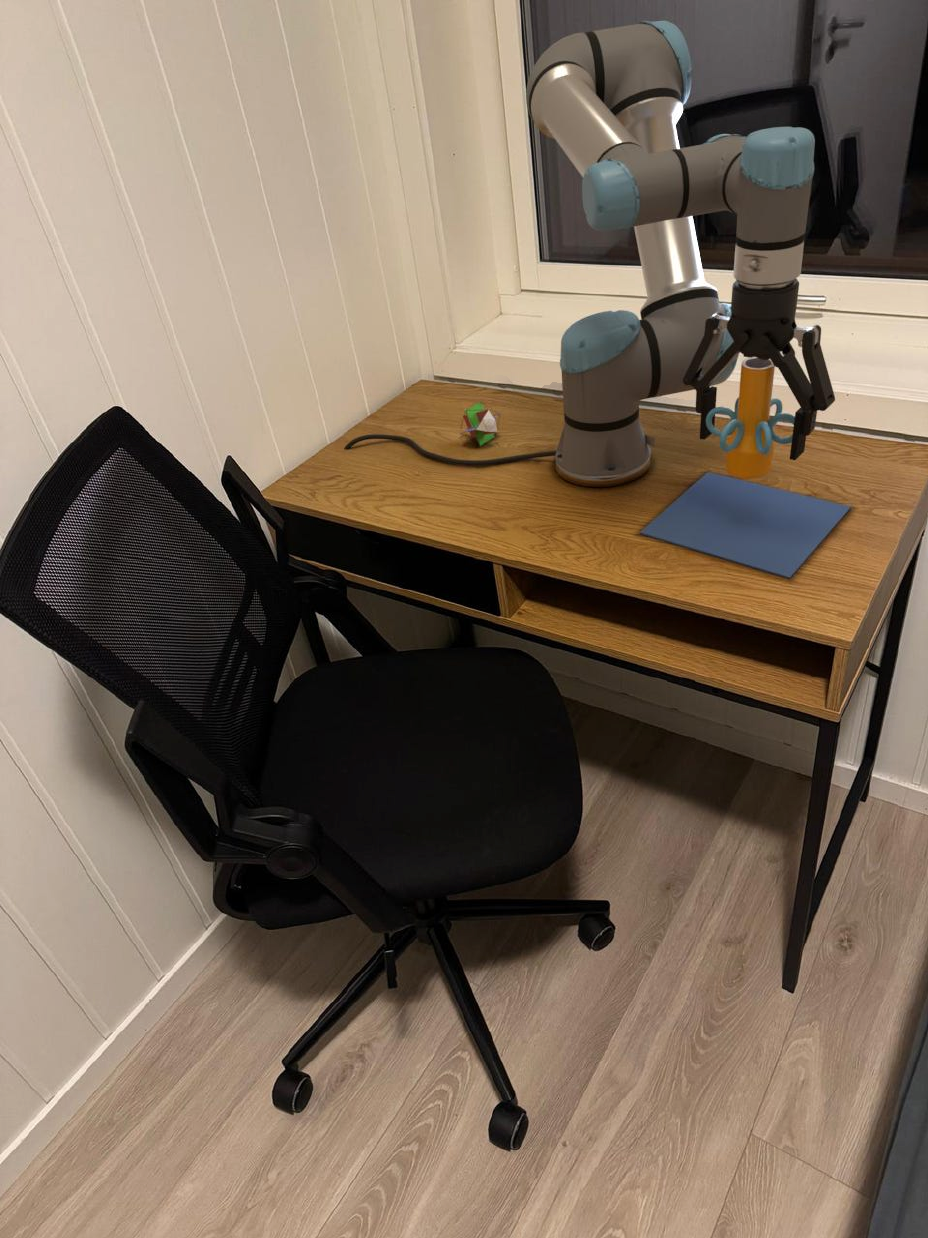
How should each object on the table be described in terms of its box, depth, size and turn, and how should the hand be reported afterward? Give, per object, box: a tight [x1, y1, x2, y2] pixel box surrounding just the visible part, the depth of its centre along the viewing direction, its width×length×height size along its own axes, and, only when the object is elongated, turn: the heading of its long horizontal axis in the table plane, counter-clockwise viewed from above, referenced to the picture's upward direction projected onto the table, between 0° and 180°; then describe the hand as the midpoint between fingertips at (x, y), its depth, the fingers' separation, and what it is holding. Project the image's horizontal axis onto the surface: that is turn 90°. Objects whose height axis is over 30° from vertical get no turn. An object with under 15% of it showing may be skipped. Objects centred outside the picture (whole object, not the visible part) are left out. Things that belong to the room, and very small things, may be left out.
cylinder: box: [706, 357, 795, 480], centre depth 112 cm, size 12×10×15 cm
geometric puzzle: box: [459, 400, 501, 447], centre depth 150 cm, size 7×7×8 cm
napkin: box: [639, 471, 852, 580], centre depth 121 cm, size 22×20×1 cm
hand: (750, 445), depth 114 cm, fingers closed on cylinder, 12 cm apart
